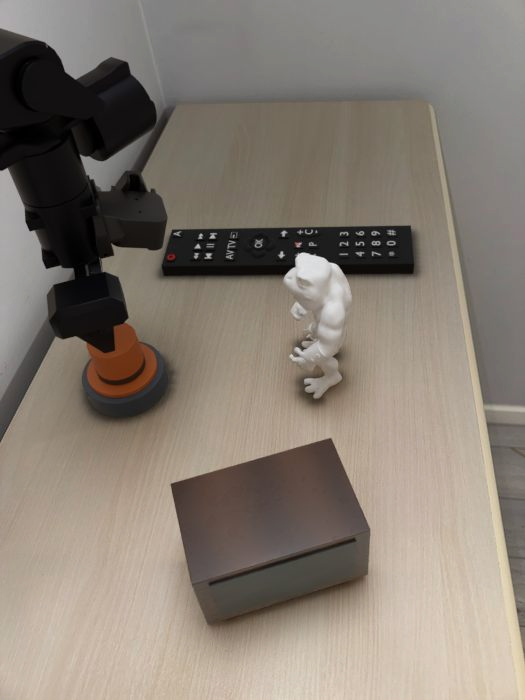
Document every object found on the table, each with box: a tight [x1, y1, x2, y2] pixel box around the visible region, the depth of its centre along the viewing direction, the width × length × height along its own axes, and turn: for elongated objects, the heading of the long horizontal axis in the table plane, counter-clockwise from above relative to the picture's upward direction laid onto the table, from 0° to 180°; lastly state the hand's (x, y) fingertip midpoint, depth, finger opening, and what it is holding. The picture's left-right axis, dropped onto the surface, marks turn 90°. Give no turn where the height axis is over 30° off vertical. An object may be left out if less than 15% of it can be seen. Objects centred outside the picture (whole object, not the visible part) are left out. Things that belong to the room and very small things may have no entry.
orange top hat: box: [86, 322, 157, 398], centre depth 71 cm, size 8×8×5 cm
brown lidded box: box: [170, 437, 371, 626], centre depth 57 cm, size 14×9×9 cm, turn 105°
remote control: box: [161, 224, 415, 276], centre depth 87 cm, size 8×32×2 cm, turn 85°
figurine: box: [282, 253, 353, 400], centre depth 69 cm, size 11×7×15 cm, turn 0°
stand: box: [81, 340, 169, 419], centre depth 74 cm, size 9×9×2 cm
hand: (104, 319), depth 68 cm, fingers open, 9 cm apart
